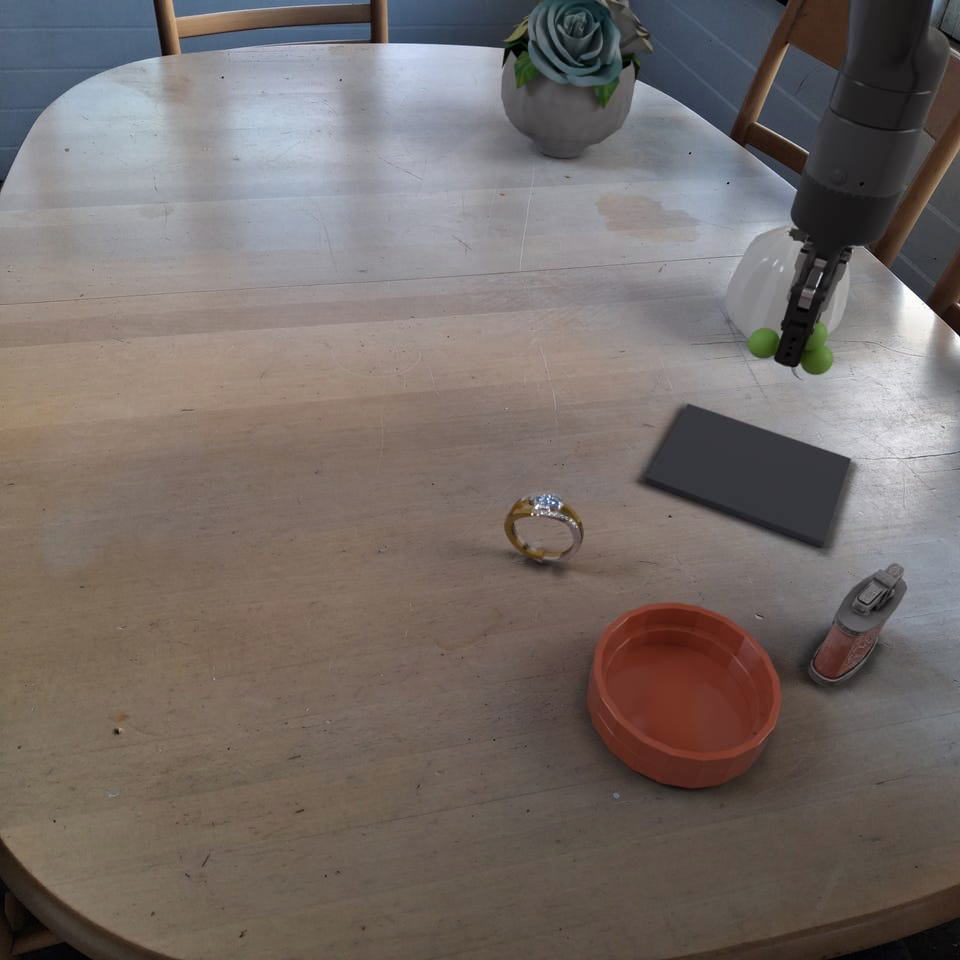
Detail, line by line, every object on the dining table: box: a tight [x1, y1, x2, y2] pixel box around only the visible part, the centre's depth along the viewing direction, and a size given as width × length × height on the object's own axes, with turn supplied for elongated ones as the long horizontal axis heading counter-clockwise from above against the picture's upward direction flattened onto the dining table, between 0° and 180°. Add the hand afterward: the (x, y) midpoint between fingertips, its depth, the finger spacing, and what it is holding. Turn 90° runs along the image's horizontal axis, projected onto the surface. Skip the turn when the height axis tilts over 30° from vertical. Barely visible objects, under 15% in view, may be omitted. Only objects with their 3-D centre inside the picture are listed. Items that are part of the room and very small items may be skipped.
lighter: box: [807, 562, 908, 688], centre depth 73 cm, size 8×3×10 cm, turn 133°
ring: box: [503, 490, 585, 565], centre depth 80 cm, size 7×3×8 cm, turn 67°
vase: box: [723, 224, 851, 341], centre depth 109 cm, size 14×14×13 cm
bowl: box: [586, 601, 783, 789], centre depth 71 cm, size 14×14×4 cm
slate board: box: [644, 403, 852, 549], centre depth 93 cm, size 18×14×1 cm
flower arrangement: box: [500, 0, 654, 159], centre depth 142 cm, size 25×25×24 cm
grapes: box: [747, 312, 834, 376], centre depth 81 cm, size 8×3×6 cm, turn 63°
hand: (790, 352), depth 82 cm, fingers closed on grapes, 2 cm apart
